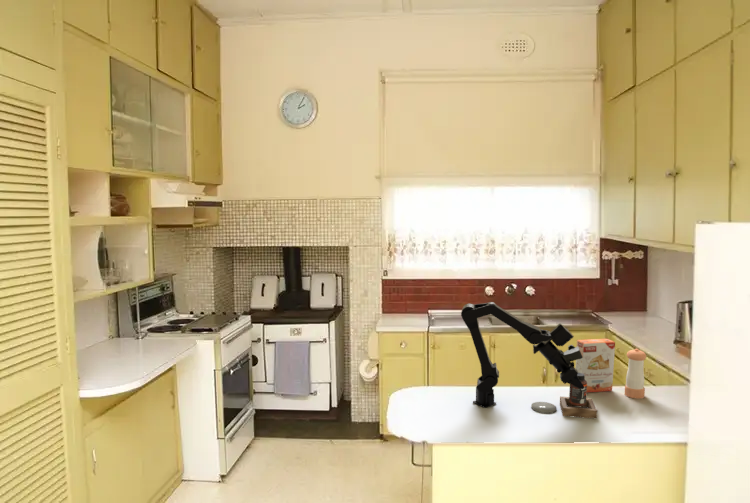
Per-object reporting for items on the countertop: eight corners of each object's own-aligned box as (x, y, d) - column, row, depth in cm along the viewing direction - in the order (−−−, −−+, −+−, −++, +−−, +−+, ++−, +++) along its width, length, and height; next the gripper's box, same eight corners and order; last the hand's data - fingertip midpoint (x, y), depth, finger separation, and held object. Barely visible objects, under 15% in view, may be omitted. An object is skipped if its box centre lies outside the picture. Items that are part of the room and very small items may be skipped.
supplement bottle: (587, 407, 205) (588, 377, 204) (570, 405, 206) (571, 376, 205) (584, 401, 211) (586, 372, 209) (567, 399, 212) (569, 370, 211)
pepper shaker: (642, 392, 227) (644, 346, 225) (646, 399, 220) (649, 351, 218) (622, 391, 229) (625, 345, 226) (626, 397, 222) (628, 350, 219)
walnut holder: (562, 415, 204) (563, 408, 204) (559, 403, 216) (559, 396, 215) (596, 418, 202) (597, 410, 202) (591, 406, 213) (591, 398, 213)
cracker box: (581, 393, 226) (583, 343, 224) (573, 388, 232) (575, 339, 230) (613, 391, 228) (615, 341, 226) (604, 386, 234) (607, 337, 232)
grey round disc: (526, 407, 212) (526, 405, 212) (541, 402, 218) (541, 400, 217) (546, 415, 205) (546, 413, 205) (561, 409, 210) (561, 407, 210)
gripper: (572, 347, 197) (604, 380, 196) (566, 333, 216) (595, 363, 215) (548, 367, 200) (579, 399, 199) (544, 352, 218) (572, 382, 217)
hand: (582, 385), depth 207 cm, fingers closed on supplement bottle, 6 cm apart
